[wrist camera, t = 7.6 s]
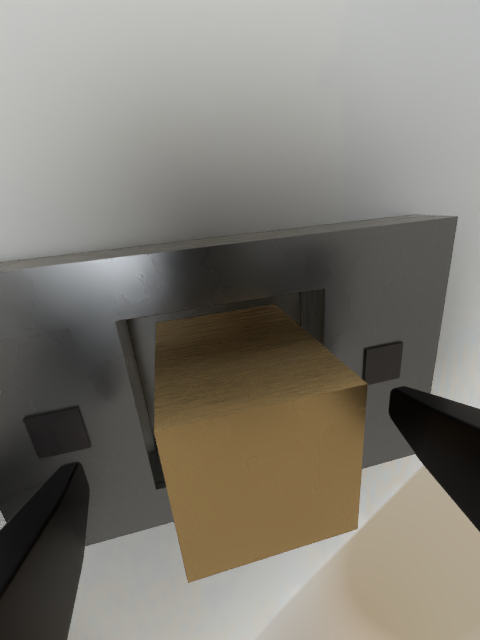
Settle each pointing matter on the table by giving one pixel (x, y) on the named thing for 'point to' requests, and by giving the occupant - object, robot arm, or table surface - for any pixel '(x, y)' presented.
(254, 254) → the grey slotted plate
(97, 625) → the table surface
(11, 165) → the table surface
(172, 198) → the table surface
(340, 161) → the table surface
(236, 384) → the wooden block
